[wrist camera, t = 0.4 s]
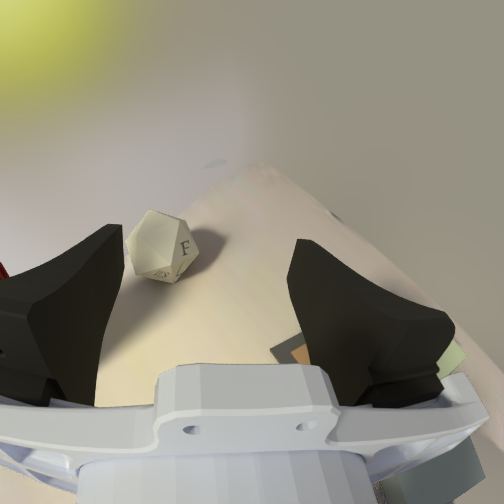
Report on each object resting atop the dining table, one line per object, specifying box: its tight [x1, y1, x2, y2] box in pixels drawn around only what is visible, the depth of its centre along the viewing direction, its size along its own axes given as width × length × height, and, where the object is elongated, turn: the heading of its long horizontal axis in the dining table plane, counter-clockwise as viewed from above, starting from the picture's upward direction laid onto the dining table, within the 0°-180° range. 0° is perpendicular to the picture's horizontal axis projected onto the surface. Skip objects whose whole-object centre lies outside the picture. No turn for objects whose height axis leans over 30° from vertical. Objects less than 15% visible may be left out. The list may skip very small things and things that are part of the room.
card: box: [270, 332, 311, 365], centre depth 29 cm, size 7×7×1 cm
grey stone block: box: [125, 209, 200, 284], centre depth 37 cm, size 8×9×10 cm
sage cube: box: [436, 340, 467, 379], centre depth 25 cm, size 5×5×5 cm
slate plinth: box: [380, 436, 485, 504], centre depth 18 cm, size 8×8×4 cm
